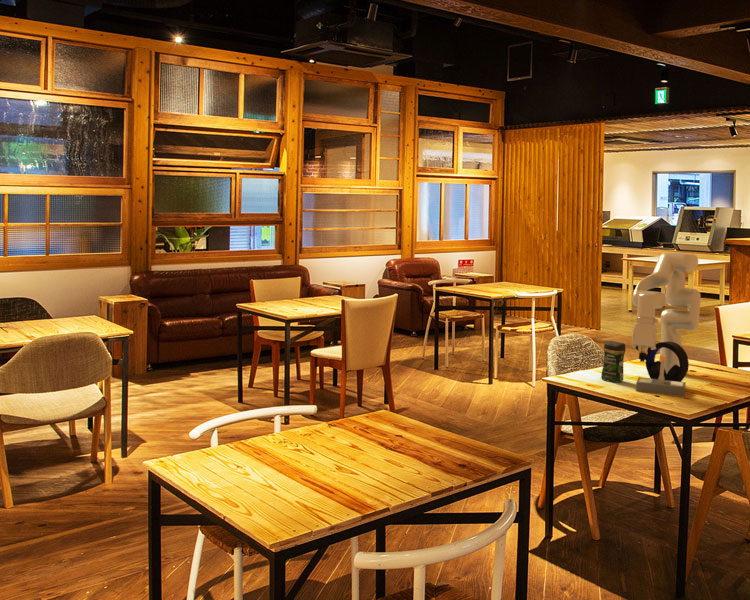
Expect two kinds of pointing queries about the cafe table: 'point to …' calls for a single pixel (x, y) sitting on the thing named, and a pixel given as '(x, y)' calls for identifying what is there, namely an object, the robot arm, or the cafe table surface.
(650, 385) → the switch box
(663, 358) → the lever
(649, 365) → the headphones
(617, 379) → the coffee jar
